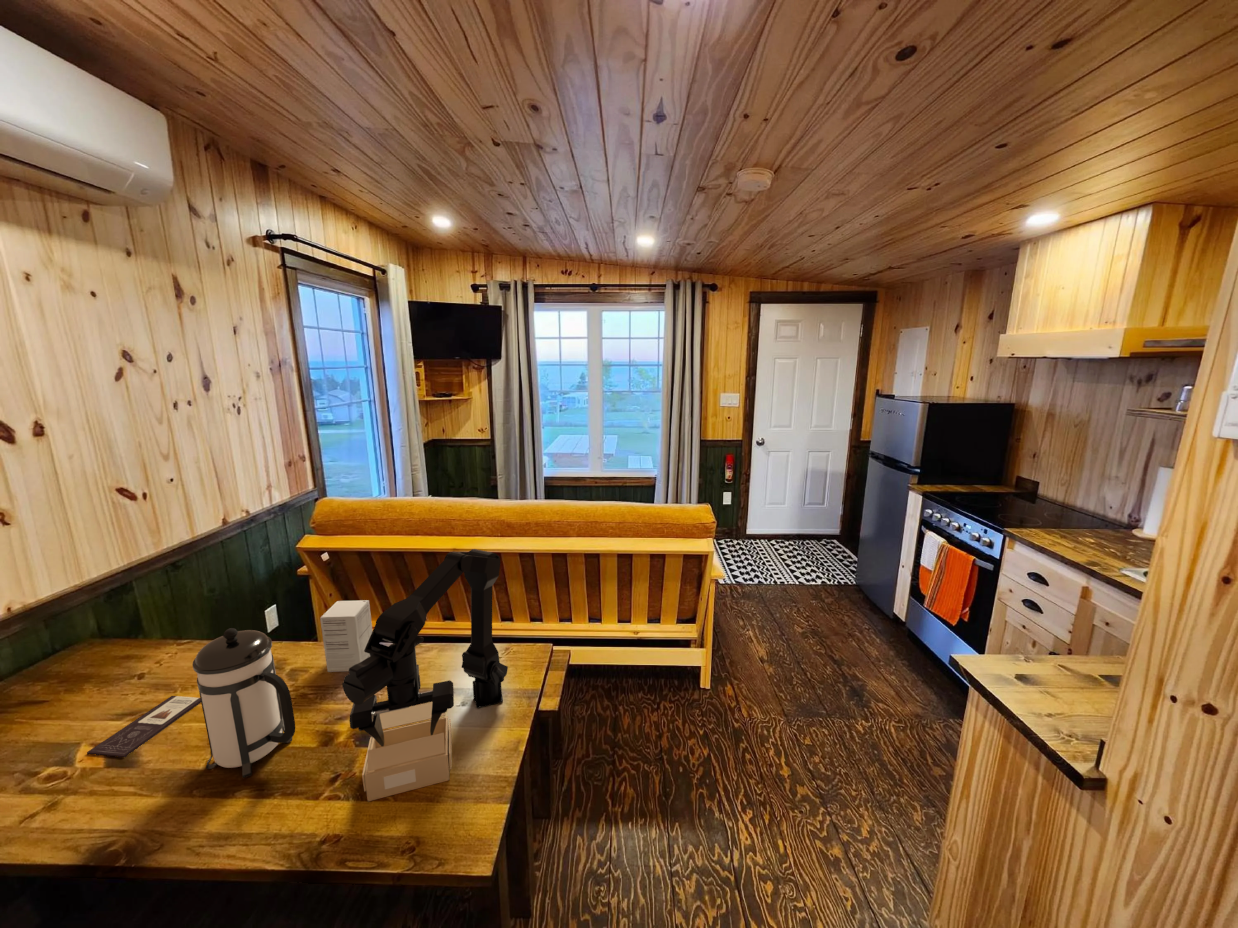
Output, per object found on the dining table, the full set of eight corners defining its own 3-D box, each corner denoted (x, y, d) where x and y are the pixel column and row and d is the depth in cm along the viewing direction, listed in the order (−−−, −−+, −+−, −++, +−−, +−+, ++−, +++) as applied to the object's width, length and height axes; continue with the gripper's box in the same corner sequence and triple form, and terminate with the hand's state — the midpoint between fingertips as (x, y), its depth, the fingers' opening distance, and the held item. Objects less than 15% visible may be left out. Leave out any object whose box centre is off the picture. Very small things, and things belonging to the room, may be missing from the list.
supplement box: (343, 652, 139) (336, 599, 135) (375, 650, 139) (370, 598, 136) (326, 672, 129) (318, 617, 126) (361, 671, 130) (354, 615, 127)
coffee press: (194, 798, 91) (165, 661, 85) (217, 741, 105) (194, 620, 99) (300, 765, 99) (281, 637, 93) (309, 716, 113) (292, 602, 107)
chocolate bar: (86, 752, 102) (171, 695, 119) (87, 755, 102) (172, 698, 119) (124, 755, 101) (204, 698, 118) (124, 759, 101) (204, 701, 119)
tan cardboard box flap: (445, 715, 105) (445, 715, 105) (445, 699, 108) (445, 699, 108) (376, 730, 101) (376, 730, 101) (377, 713, 103) (377, 714, 103)
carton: (452, 738, 107) (450, 715, 106) (452, 779, 96) (450, 754, 95) (373, 756, 102) (370, 733, 100) (364, 802, 91) (361, 776, 90)
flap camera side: (367, 771, 91) (367, 771, 90) (368, 750, 92) (367, 750, 92) (444, 752, 95) (444, 752, 95) (443, 732, 96) (443, 732, 96)
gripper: (451, 641, 104) (455, 702, 107) (356, 657, 97) (363, 722, 101) (451, 671, 93) (455, 738, 96) (345, 691, 87) (353, 762, 90)
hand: (407, 738), depth 96 cm, fingers open, 9 cm apart
